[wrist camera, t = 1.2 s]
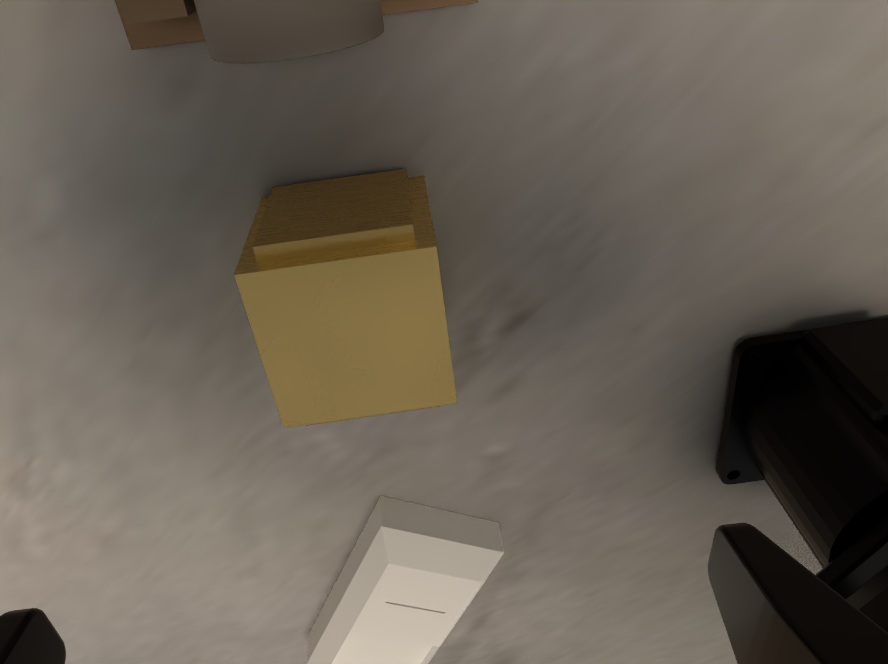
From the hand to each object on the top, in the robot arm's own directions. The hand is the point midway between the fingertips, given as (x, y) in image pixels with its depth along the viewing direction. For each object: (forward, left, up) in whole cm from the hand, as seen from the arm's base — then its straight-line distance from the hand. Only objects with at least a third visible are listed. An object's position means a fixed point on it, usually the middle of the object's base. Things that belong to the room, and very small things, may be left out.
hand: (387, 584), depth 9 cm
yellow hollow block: (-1, +1, -12) cm, 12 cm away
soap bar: (-16, +2, -13) cm, 21 cm away
